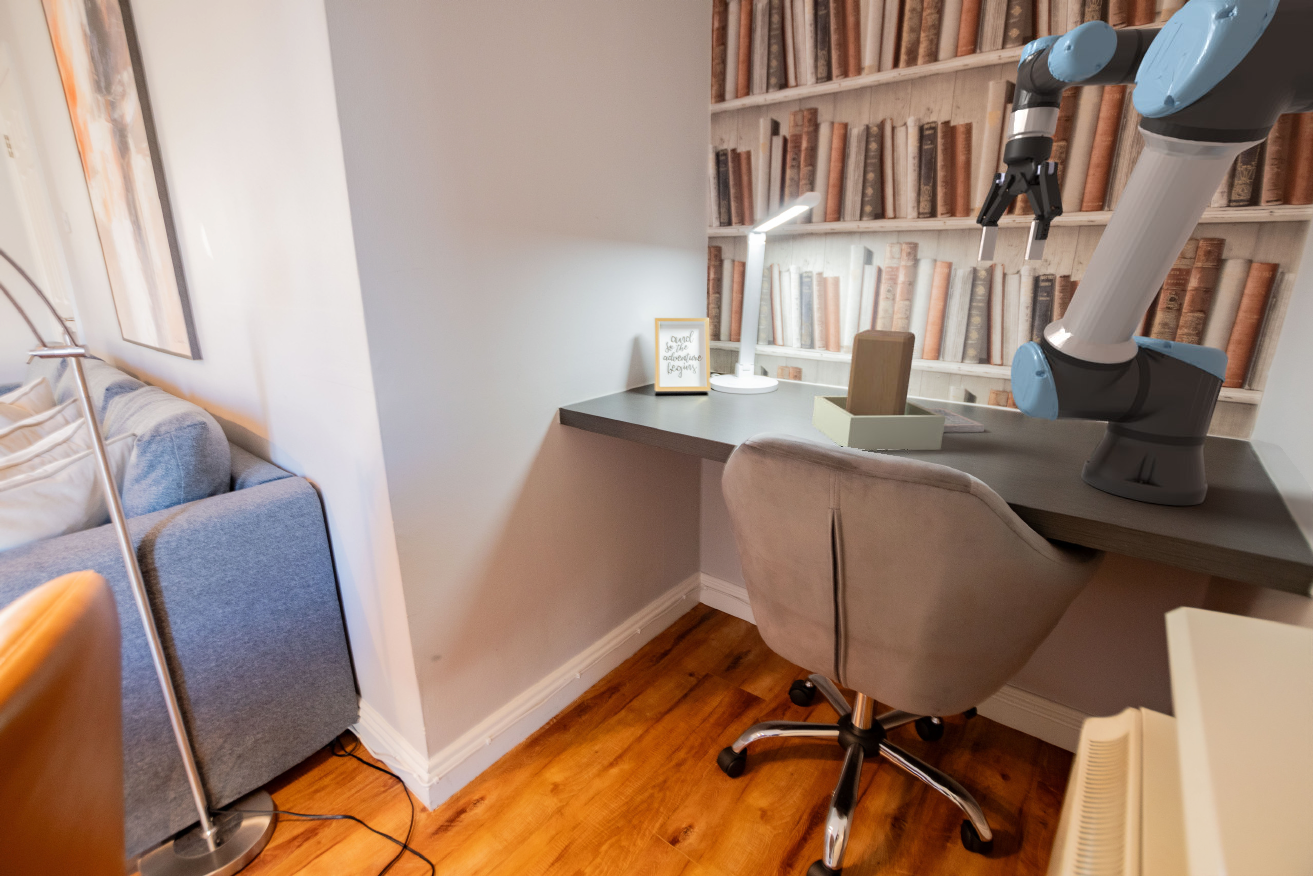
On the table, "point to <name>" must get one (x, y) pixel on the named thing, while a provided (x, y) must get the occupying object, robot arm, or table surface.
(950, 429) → the socket frame
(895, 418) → the bin
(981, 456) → the table surface
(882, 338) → the block
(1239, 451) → the table surface
